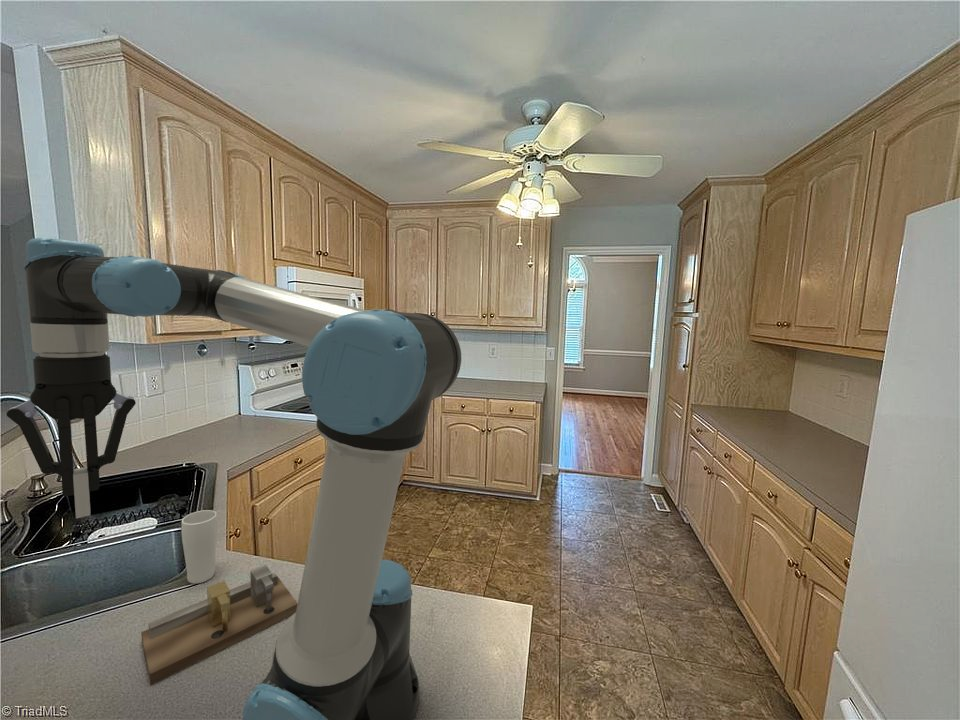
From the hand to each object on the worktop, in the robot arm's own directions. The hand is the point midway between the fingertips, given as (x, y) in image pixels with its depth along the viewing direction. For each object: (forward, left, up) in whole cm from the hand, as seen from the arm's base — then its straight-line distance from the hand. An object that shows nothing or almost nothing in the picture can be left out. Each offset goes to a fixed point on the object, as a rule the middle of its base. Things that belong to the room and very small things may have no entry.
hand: (83, 513), depth 58 cm
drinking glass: (+26, -19, -33) cm, 45 cm away
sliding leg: (+5, -18, -30) cm, 35 cm away
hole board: (+6, -19, -32) cm, 38 cm away
